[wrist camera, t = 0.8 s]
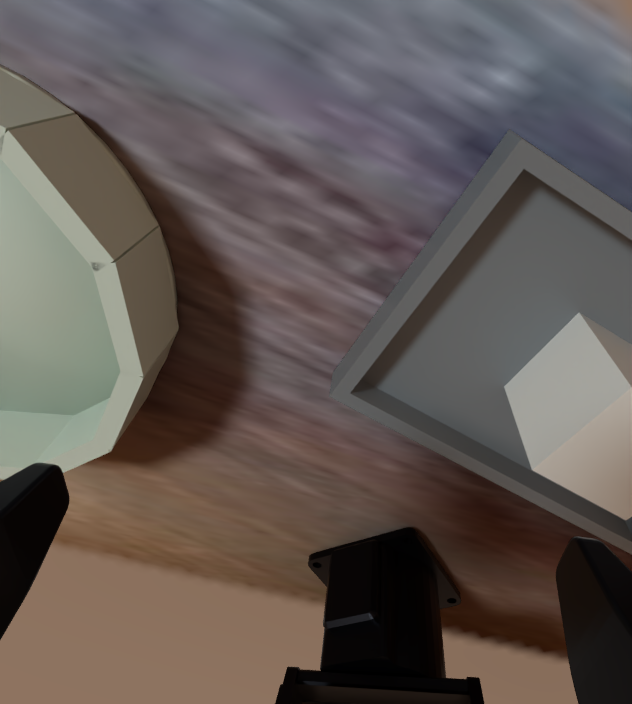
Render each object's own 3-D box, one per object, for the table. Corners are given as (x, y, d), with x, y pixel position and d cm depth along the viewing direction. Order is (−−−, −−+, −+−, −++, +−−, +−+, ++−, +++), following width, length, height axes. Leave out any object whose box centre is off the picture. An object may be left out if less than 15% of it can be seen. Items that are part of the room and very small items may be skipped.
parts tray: (861, 366, 18) (901, 394, 17) (620, 525, 24) (635, 556, 22) (509, 129, 15) (521, 138, 14) (333, 372, 21) (329, 396, 20)
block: (662, 363, 19) (734, 448, 15) (581, 430, 21) (626, 520, 17) (579, 312, 18) (631, 387, 14) (504, 386, 20) (531, 469, 16)
